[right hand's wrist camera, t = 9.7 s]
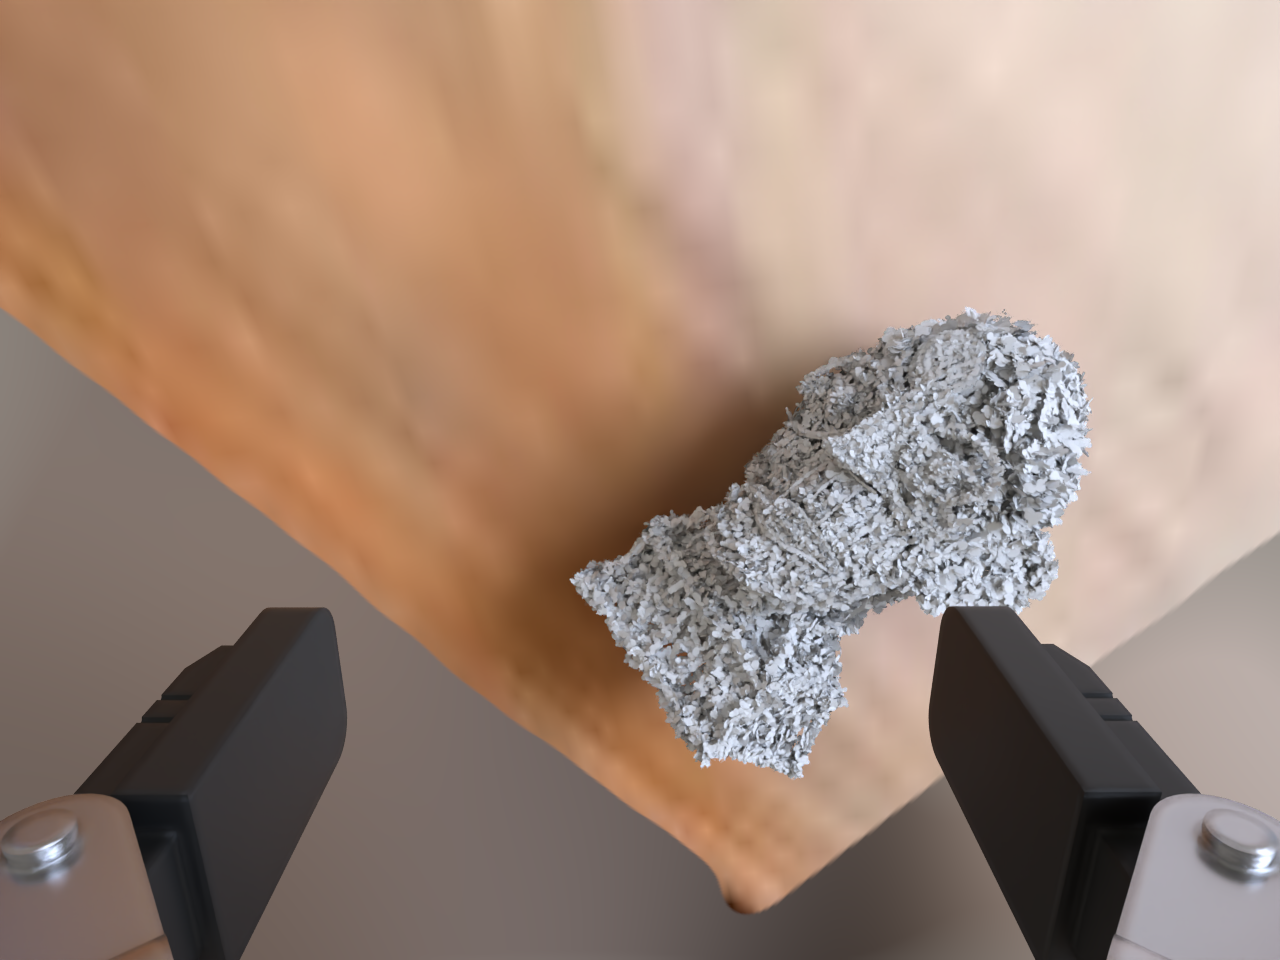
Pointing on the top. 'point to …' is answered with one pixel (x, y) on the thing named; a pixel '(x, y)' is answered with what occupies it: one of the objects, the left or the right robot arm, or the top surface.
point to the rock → (852, 530)
